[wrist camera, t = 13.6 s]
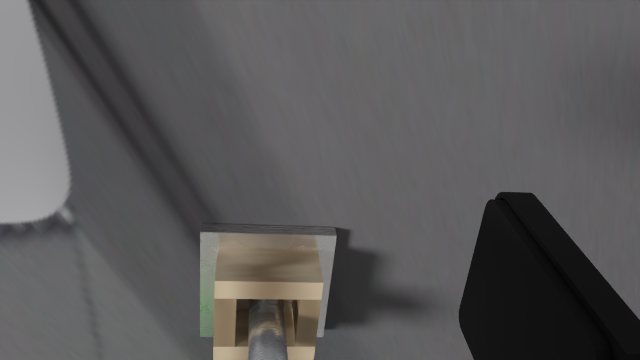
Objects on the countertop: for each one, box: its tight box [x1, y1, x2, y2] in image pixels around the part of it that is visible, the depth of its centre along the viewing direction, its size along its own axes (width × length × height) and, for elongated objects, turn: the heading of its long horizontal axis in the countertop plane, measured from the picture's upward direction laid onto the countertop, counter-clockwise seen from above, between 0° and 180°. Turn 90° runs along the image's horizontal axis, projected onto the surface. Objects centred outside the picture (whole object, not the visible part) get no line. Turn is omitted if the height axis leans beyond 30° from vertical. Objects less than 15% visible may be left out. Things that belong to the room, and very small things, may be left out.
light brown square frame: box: [213, 247, 324, 360], centre depth 41 cm, size 7×7×4 cm
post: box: [200, 223, 337, 360], centre depth 38 cm, size 10×10×12 cm
